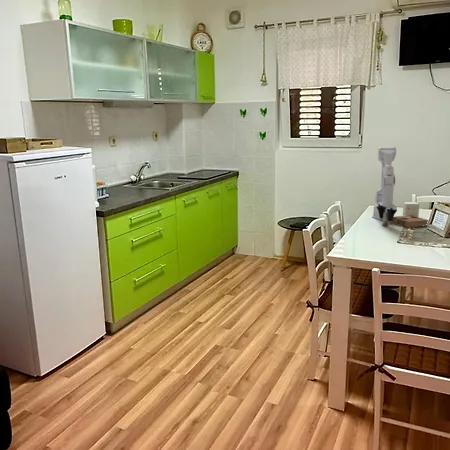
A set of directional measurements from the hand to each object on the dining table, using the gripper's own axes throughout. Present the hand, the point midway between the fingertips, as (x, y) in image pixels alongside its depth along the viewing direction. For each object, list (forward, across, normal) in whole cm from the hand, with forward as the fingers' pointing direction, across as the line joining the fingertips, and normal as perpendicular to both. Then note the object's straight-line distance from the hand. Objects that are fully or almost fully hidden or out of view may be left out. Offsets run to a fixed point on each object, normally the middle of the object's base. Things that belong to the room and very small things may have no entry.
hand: (385, 219), depth 252 cm
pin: (+3, 0, 0) cm, 3 cm away
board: (+3, +2, +15) cm, 16 cm away
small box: (+4, -8, +24) cm, 26 cm away
